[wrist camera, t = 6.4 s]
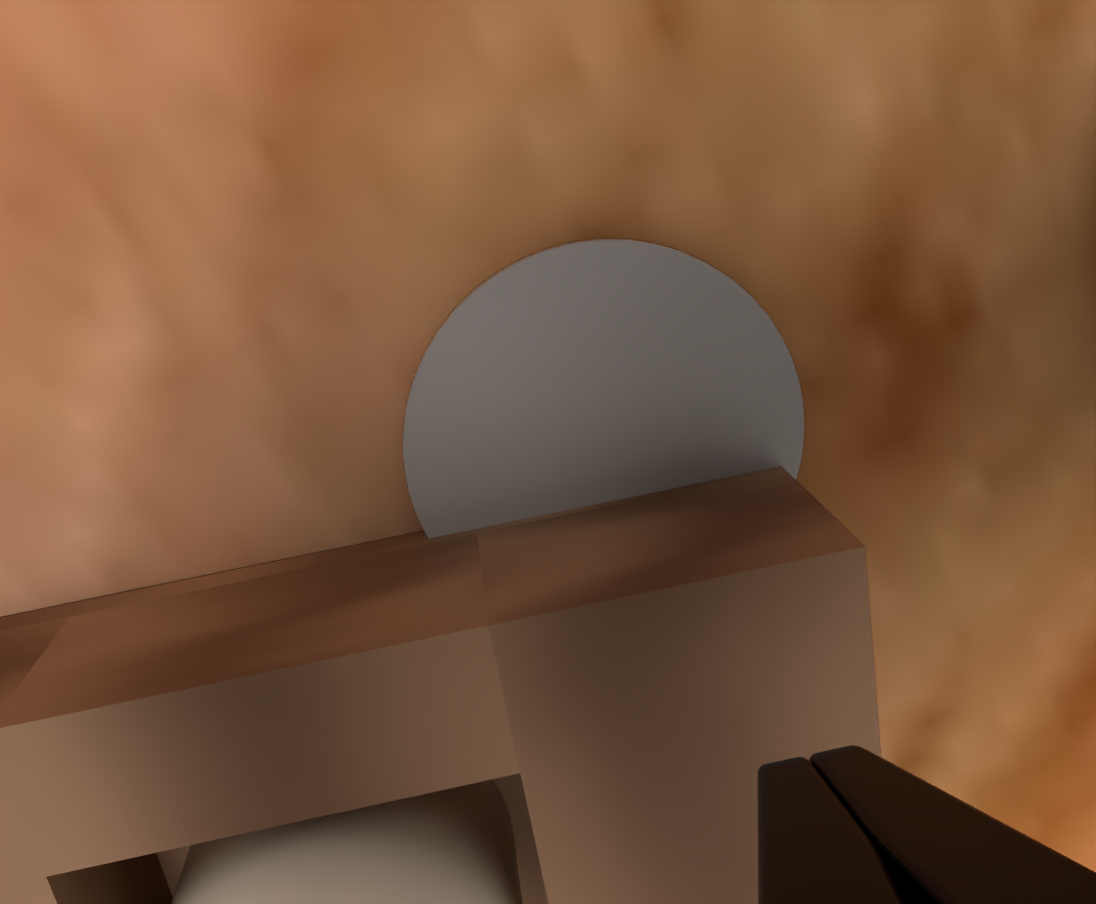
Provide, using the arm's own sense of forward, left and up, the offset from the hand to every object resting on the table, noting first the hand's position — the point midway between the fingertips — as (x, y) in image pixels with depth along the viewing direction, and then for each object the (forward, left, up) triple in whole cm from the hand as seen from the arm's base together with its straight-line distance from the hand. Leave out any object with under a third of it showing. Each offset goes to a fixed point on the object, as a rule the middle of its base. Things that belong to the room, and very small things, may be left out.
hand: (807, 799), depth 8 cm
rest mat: (0, 0, -10) cm, 10 cm away
